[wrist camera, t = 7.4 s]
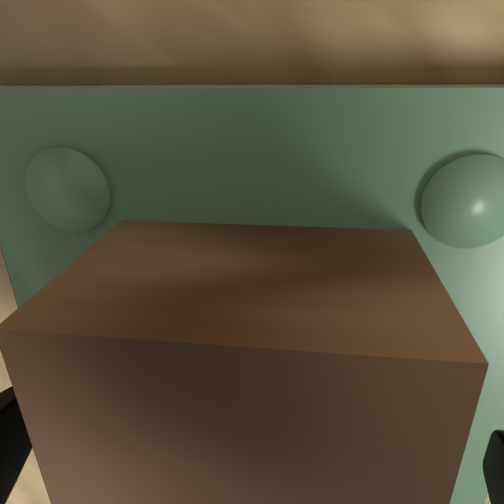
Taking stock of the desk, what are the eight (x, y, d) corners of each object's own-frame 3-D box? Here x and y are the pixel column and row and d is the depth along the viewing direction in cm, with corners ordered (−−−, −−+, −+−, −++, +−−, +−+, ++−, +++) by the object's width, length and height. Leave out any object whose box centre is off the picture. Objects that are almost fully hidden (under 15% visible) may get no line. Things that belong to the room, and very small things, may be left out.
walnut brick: (411, 230, 8) (488, 363, 5) (377, 446, 11) (410, 643, 7) (120, 220, 9) (-7, 329, 5) (152, 425, 12) (80, 593, 8)
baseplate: (589, 83, 8) (632, 88, 7) (459, 508, 13) (472, 548, 12) (-10, 85, 9) (-51, 89, 8) (86, 466, 14) (68, 498, 13)
